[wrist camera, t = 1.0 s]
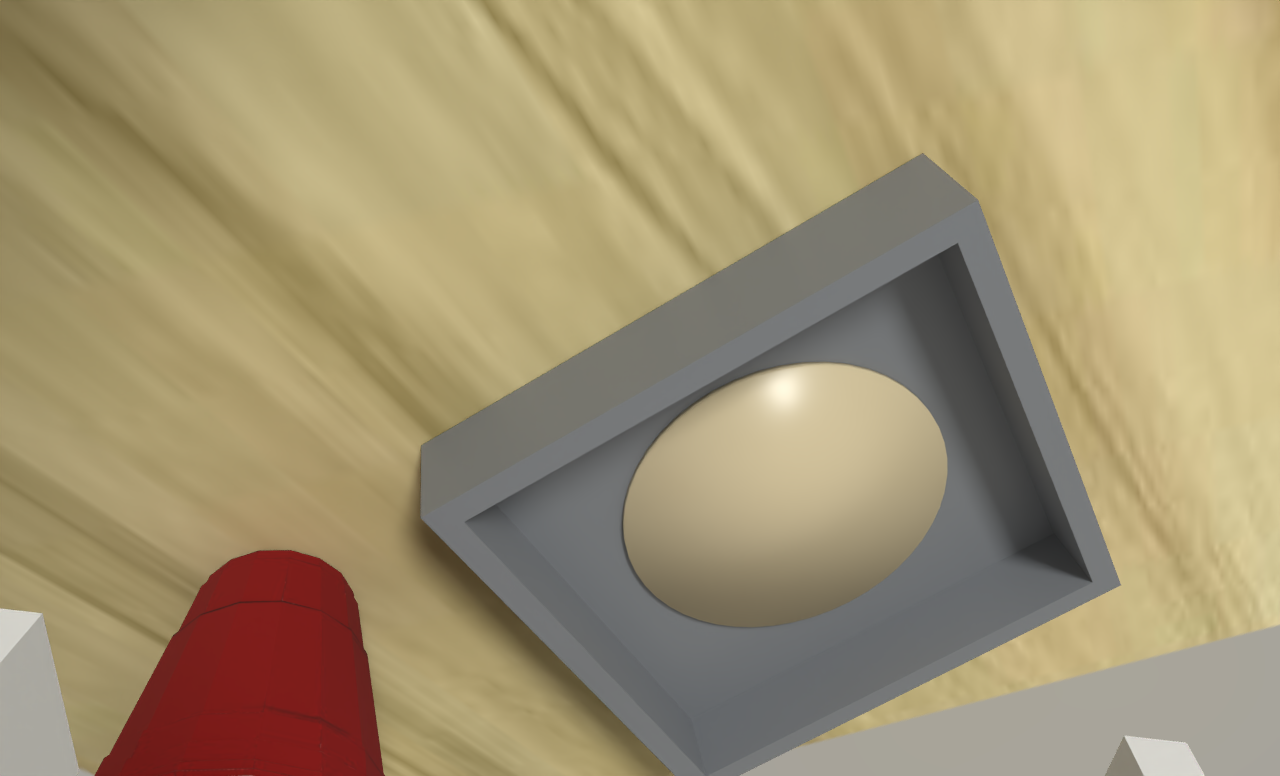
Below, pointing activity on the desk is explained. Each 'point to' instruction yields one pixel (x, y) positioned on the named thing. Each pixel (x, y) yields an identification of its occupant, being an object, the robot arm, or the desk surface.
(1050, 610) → the grey square tray
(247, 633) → the plastic cup
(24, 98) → the desk surface
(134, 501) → the desk surface
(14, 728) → the robot arm
